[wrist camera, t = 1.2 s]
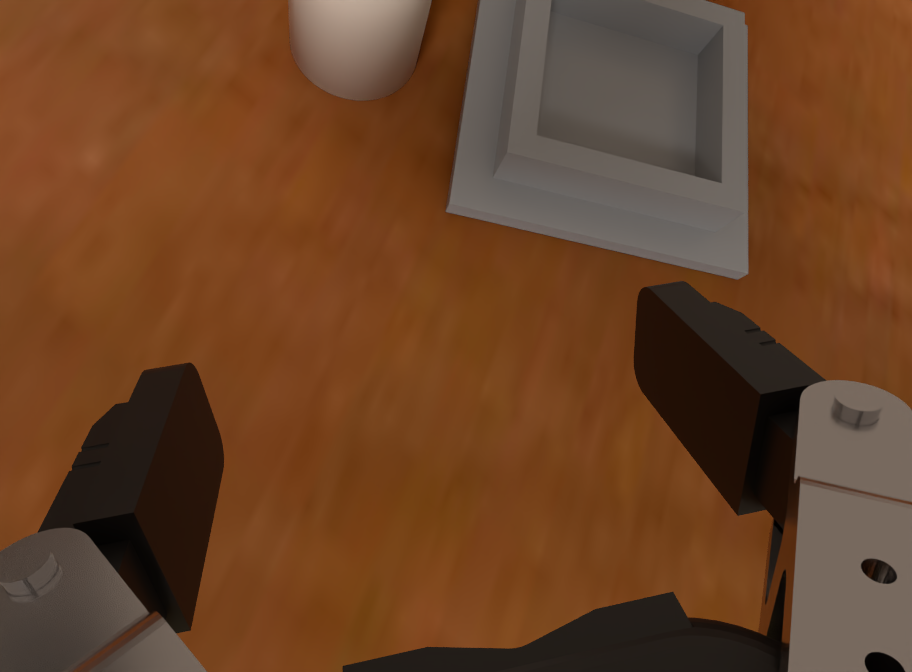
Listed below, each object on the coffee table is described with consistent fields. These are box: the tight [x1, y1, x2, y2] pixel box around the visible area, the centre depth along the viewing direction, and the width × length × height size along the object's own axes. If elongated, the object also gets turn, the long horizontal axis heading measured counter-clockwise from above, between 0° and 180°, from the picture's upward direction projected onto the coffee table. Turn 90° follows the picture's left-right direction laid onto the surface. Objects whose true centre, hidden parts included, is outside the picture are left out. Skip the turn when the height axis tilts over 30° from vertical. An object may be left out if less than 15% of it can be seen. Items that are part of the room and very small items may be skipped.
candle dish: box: [446, 0, 748, 279], centre depth 31 cm, size 15×15×3 cm
